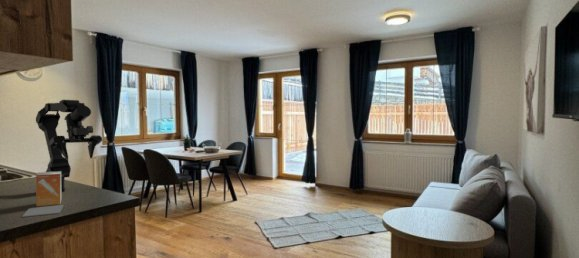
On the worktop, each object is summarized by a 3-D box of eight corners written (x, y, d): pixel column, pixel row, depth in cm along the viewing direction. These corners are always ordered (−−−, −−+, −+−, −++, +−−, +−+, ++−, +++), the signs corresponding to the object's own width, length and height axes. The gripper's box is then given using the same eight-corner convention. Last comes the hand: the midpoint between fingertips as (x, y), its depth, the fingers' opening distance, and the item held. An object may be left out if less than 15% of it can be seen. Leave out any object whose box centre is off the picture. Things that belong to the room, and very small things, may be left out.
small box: (36, 207, 127) (35, 175, 126) (37, 203, 132) (37, 172, 132) (61, 204, 132) (60, 173, 131) (61, 200, 137) (61, 170, 136)
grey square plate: (29, 209, 125) (29, 208, 124) (63, 205, 130) (63, 204, 130) (22, 217, 115) (22, 216, 115) (59, 213, 120) (59, 212, 120)
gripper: (55, 118, 130) (60, 154, 126) (104, 119, 145) (110, 151, 141) (47, 128, 136) (51, 162, 133) (94, 128, 151) (99, 159, 147)
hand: (79, 158), depth 138 cm, fingers open, 9 cm apart
